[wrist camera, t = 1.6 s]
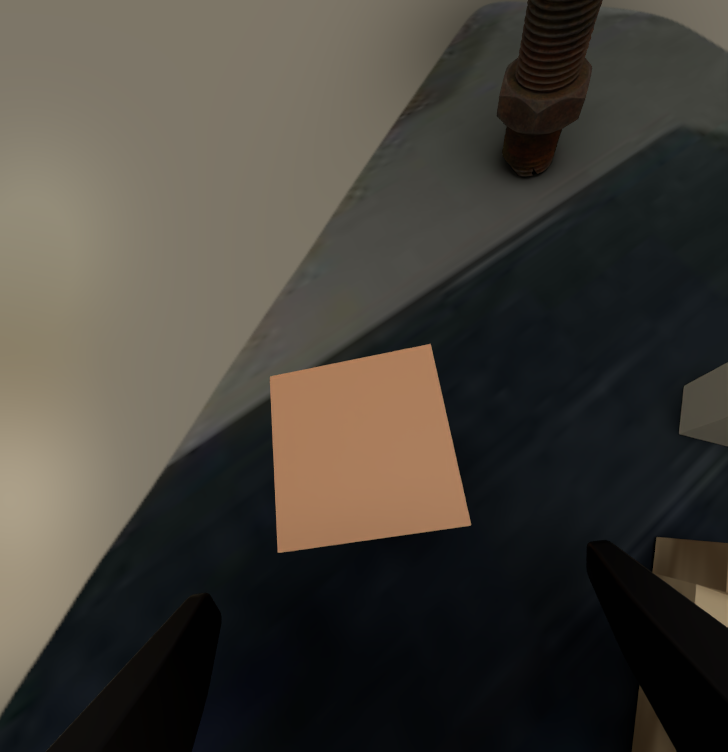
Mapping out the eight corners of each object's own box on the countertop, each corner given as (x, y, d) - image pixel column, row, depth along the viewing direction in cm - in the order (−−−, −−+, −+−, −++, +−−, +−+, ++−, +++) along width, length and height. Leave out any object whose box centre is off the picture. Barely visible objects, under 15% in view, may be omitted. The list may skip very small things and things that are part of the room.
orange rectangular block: (452, 521, 18) (471, 525, 7) (372, 532, 19) (277, 553, 8) (435, 440, 20) (430, 344, 9) (361, 453, 20) (270, 376, 9)
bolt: (554, 123, 26) (686, -331, 12) (586, 174, 24) (786, -295, 10) (470, 150, 26) (504, -255, 13) (494, 202, 24) (566, -206, 11)
